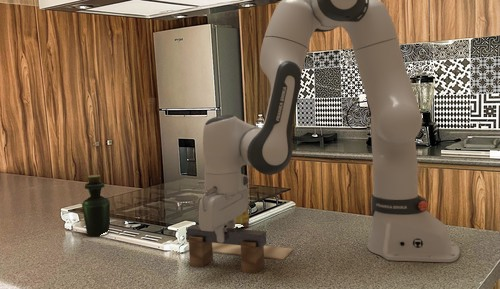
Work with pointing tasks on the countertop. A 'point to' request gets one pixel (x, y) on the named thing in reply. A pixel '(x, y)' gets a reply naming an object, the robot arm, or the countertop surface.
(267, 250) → the wooden plank
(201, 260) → the post
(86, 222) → the potion bottle
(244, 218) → the sauce bottle
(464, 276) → the countertop surface
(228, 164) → the robot arm
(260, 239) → the rail
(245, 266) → the post
